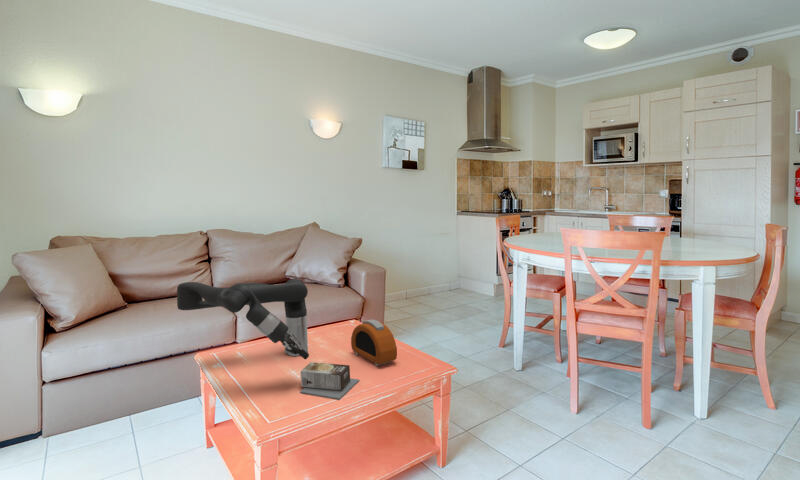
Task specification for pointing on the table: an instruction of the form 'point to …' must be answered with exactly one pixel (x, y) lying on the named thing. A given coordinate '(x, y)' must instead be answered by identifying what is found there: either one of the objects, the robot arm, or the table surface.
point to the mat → (328, 392)
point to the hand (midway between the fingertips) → (307, 357)
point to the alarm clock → (374, 342)
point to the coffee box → (325, 376)
